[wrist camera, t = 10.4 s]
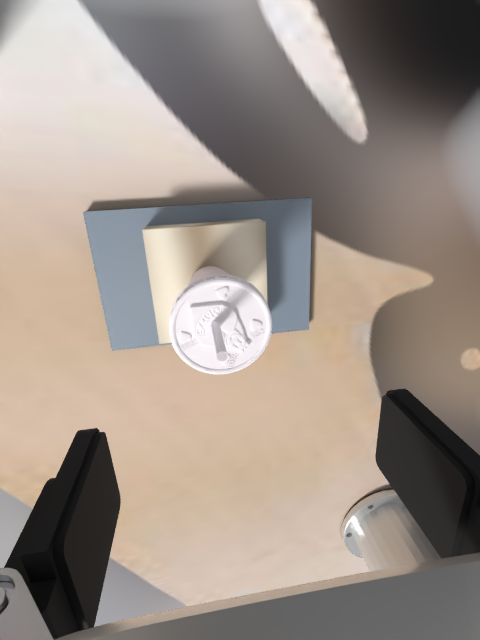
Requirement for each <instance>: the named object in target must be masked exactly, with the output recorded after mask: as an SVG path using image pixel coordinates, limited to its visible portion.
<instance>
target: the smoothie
mask: <svg viewBox="0 0 480 640" xmlns="http://www.w3.org/2000/svg"><path fill="white" fill-rule="evenodd" d="M271 332H272V317H271V313H270V309H269V307H268V305H267V303H266V301H265V299H264V297H263V295H262V294H261V293H260V291H259V290H258V289H257V288H256V287H255V286H254V285H252V284H251V283H249V282H248V281H246V280H244V279H243V278H240V277H236V276H233V275H230V274H228V273H227V272H225V271H224V270H222V269H220V268H218V267H214V266H207V267H203V268H201V269H199V270H198V271H196V272H195V273H194V274H193V276H192V278H191V280H190V282H189V284H188V286H187V287H186V288H185V289H184V290H183V291H182V292H181V293H180V294H179V295H178V297H177V298H176V300H175V302H174V303H173V305H172V309H171V312H170V316H169V333H170V339H171V342H172V345H173V347H174V349H175V351H176V353H177V354H178V355H179V357H180V358H181V359H182V360H183V361H184V362H185V363H187V364H188V365H189V366H191V367H193V368H194V369H196V370H199V371H201V372H205V373H210V374H228V373H232V372H236V371H239V370H241V369H243V368H245V367H247V366H249V365H250V364H251V363H253V362H254V361H255V360H256V359H257V358H258V357H259V356H260V355H261V354H262V353H263V351H264V350H265V348H266V346H267V344H268V342H269V339H270V336H271Z"/></svg>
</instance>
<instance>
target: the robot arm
mask: <svg viewBox="0 0 480 640" xmlns="http://www.w3.org/2000/svg"><path fill="white" fill-rule="evenodd" d="M376 462H377V465H378V467H379V469H380V470H381V472H382V473H383V475H384V476H385V478H386V479H387V480H388V482H389V483H390V485H391V486H392V488H393V489H391V490H385V491H381V492H378V493H374V494H372V495H370V496H368V497H366V498H365V499H363V500H361V501H360V502H359V503H358V504H356V505H355V506H354V507H353V508H352V509H351V510H350V511H349V513H348V514H347V516H346V517H345V519H344V521H343V524H342V529H341V535H342V539H343V542H344V544H345V546H346V548H347V549H348V550H349V551H350V552H351V553H352V554H354V555H356V556H358V557H361V558H363V559H364V561H365V563H366V565H367V567H368V569H369V571H370V572H366V573H360V574H355V575H350V576H344V577H339V578H334V579H329V580H323V581H318V582H313V583H307V584H302V585H297V586H292V587H286V588H281V589H276V590H271V591H265V592H260V593H255V594H250V595H245V596H240V597H235V598H230V599H224V600H219V601H214V602H209V603H204V604H199V605H194V606H189V607H184V608H179V609H174V610H168V611H164V612H159V613H154V614H150V615H145V616H141V617H136V618H132V619H127V620H122V621H117V622H113V623H108V624H105V625H101V626H97V627H94V624H95V620H96V615H97V610H98V606H99V601H100V597H101V592H102V588H103V583H104V578H105V574H106V569H107V565H108V560H109V556H110V551H111V547H112V542H113V537H114V533H115V528H116V524H117V519H118V514H119V510H120V493H119V488H118V484H117V480H116V476H115V471H114V467H113V463H112V459H111V454H110V450H109V446H108V442H107V438H106V434H105V432H99V430H98V429H97V428H95V429H87V430H79V431H78V432H77V433H76V435H75V437H74V440H73V442H72V444H71V446H70V448H69V450H68V452H67V455H66V457H65V459H64V461H63V463H62V465H61V467H60V470H59V472H58V474H57V476H56V478H52V479H49V480H48V481H47V482H46V484H45V486H44V488H43V490H42V492H41V494H40V496H39V498H38V500H37V502H36V504H35V506H34V508H33V510H32V512H31V514H30V516H29V518H28V520H27V522H26V524H25V527H24V529H23V531H22V532H21V534H20V537H19V539H18V541H17V543H16V545H15V547H14V549H13V551H12V553H11V555H10V557H9V559H8V561H7V563H6V565H5V567H4V568H0V640H480V455H478V454H477V453H476V452H475V451H474V450H473V449H472V448H471V447H469V446H468V445H467V444H466V443H465V442H464V441H463V440H462V439H461V438H460V437H459V436H457V435H456V434H455V433H454V432H453V431H452V430H451V429H450V428H449V427H447V426H446V425H445V424H444V423H443V422H442V421H441V420H440V419H439V418H438V417H437V416H435V415H434V414H433V413H432V412H431V411H430V410H429V409H428V408H427V407H425V406H424V405H423V404H422V403H421V402H420V401H419V400H418V399H416V397H414V396H413V395H412V394H411V393H410V392H409V391H408V390H406V389H397V390H390V391H388V392H387V393H386V395H384V396H383V397H382V403H381V412H380V421H379V430H378V439H377V448H376Z"/></svg>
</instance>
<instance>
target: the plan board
mask: <svg viewBox="0 0 480 640" xmlns="http://www.w3.org/2000/svg"><path fill="white" fill-rule="evenodd" d="M83 214H84V219H85V224H86V229H87V234H88V238H89V243H90V248H91V253H92V257H93V262H94V267H95V272H96V277H97V281H98V286H99V291H100V296H101V301H102V305H103V310H104V315H105V320H106V324H107V329H108V334H109V339H110V344H111V348H112V350H122V349H131V348H140V347H150V346H159V345H168V344H172V343H164V344H159V338H158V331H157V325H156V318H155V312H154V305H153V298H152V292H151V285H150V279H149V272H148V265H147V259H146V252H145V246H144V239H143V232H142V230H143V229H144V228H145V227H146V226H157V225H172V224H187V223H202V222H216V221H231V220H246V219H261V220H263V221H265V222H266V261H267V304H268V307H269V309H270V313H271V317H272V332H271V333H281V332H290V331H299V330H309V306H310V263H311V221H312V198H296V199H280V200H262V201H246V202H229V203H213V204H196V205H180V206H164V207H147V208H131V209H114V210H98V211H85V212H83Z"/></svg>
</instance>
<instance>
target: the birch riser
mask: <svg viewBox="0 0 480 640" xmlns="http://www.w3.org/2000/svg"><path fill="white" fill-rule="evenodd" d="M142 232H143V239H144V246H145V252H146V259H147V265H148V272H149V279H150V285H151V292H152V298H153V305H154V312H155V318H156V325H157V331H158V338H159V344H164V343H172V342H171V339H170V333H169V316H170V312H171V309H172V305H173V303H174V302H175V300H176V298H177V297H178V295H179V294H180V293H181V292H182V291H183V290H184V289H185V288H186V287H187V286H188V284H189V282H190V280H191V278H192V276H193V274H194V273H195V272H196V271H198V270H199V269H201V268H203V267H207V266H214V267H218V268H220V269H222V270H224V271H225V272H227V273H228V274H230V275H233V276H236V277H240V278H243V279H244V280H246V281H248V282H249V283H251V284H252V285H254V286H255V287H256V288H257V289H258V290H259V291H260V293H261V294H262V295H263V297H264V299H265V301H266V303H267V261H266V222H265V221H263V220H261V219H246V220H231V221H216V222H202V223H187V224H172V225H157V226H146V227H145V228H144V229H143V230H142ZM267 305H268V304H267Z"/></svg>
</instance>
